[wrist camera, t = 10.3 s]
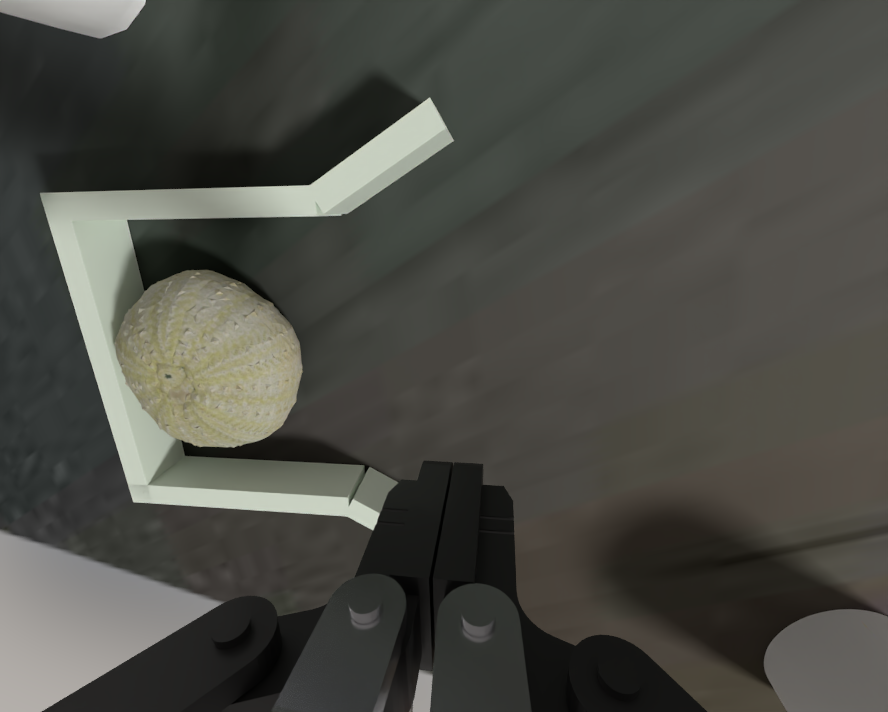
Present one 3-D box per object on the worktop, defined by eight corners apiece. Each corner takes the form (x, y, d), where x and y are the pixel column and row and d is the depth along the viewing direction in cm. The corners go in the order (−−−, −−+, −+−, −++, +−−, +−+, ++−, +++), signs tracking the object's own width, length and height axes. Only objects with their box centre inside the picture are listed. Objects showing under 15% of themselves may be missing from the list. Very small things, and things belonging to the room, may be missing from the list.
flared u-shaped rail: (82, 131, 21) (17, 118, 18) (453, 114, 18) (445, 96, 16) (181, 509, 28) (146, 543, 25) (457, 528, 26) (452, 567, 23)
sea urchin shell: (161, 455, 24) (20, 408, 17) (203, 335, 28) (100, 255, 21) (313, 458, 23) (229, 409, 16) (336, 332, 26) (276, 246, 19)
